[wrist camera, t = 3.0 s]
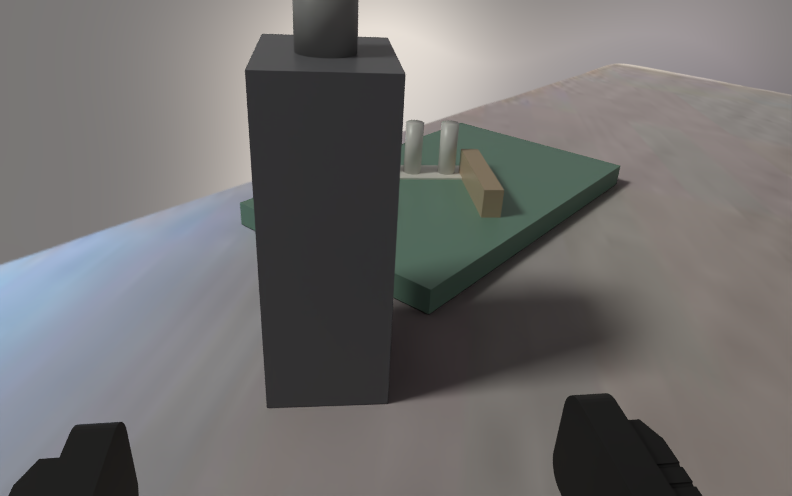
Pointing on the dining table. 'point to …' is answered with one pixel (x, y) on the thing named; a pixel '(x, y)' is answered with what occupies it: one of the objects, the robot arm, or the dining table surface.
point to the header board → (476, 205)
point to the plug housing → (325, 205)
